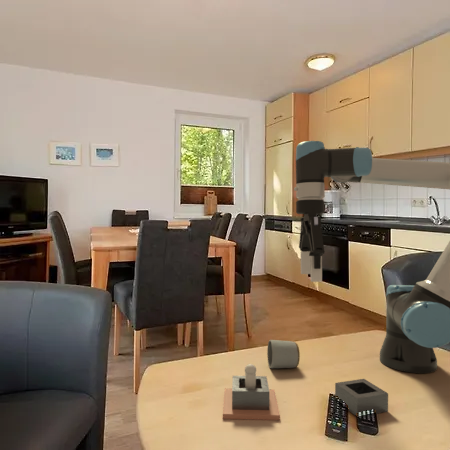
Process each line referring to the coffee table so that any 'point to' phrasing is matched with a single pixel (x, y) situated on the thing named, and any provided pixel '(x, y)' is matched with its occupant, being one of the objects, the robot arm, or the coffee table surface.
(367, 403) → the grey square hollow block
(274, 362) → the ceramic mug
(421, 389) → the coffee table surface
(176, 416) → the coffee table surface
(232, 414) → the brown base with peg
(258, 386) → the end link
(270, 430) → the coffee table surface
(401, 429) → the coffee table surface
